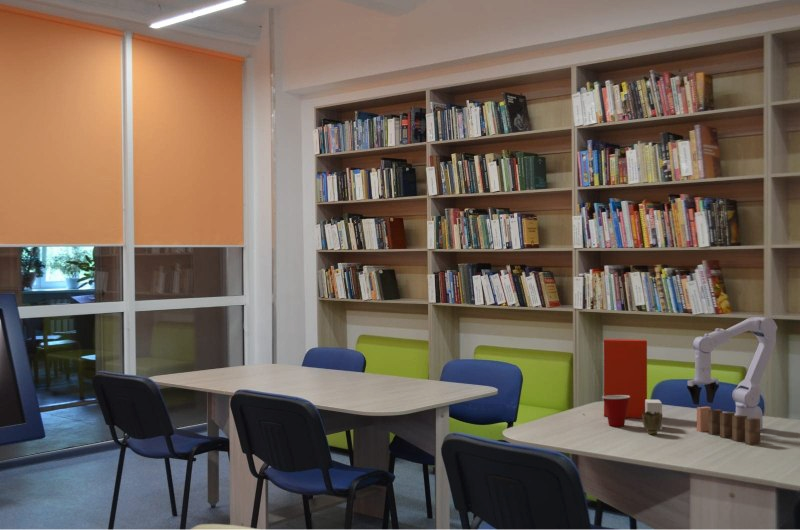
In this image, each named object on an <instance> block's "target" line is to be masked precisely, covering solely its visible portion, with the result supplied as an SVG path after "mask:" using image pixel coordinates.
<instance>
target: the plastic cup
mask: <svg viewBox="0 0 800 530" xmlns="http://www.w3.org/2000/svg"><path fill="white" fill-rule="evenodd" d="M601 398H602V400H603V404H604V403H605V407H606V413H607V417H606V418H607V422H608V425H609V427H613V428H622V427H624V426H625V424H626V423H625V422H626V419H627V417H626V412H627V406H628V401H629V398H630V396H628V395H608V396H604V395H602V397H601Z"/></svg>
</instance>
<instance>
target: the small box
mask: <svg viewBox="0 0 800 530" xmlns="http://www.w3.org/2000/svg"><path fill="white" fill-rule="evenodd" d="M647 411H648V412H651V414H652V413H653V414H654V412H657V413H658V412H659V413H660V414H661V413H662V414H663V403H662V401H661V400H660V399H651V398H649V399H648V398H647V399H645V413H646V412H647ZM658 430H659V431H662V430H663V422H662V423H661V427H660V429H658ZM658 430H657V431H658Z"/></svg>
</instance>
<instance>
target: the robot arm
mask: <svg viewBox="0 0 800 530" xmlns="http://www.w3.org/2000/svg"><path fill="white" fill-rule="evenodd" d="M778 328H779V327H778V326H777V324H776V322H775V320H774V319H773V318H771V317H764V316H763V317H762V316H757V315H754V316H751V317H748V318H746V319H745V320H743V321H740V322H738V323H737V324H734V325H733V326H730V327H728V328H727V329H724V328H718V327H717V328H714V331H712V332H710V333H704V335H703V336H697V337H695V338H694V339H693V343H691V346H692V349H693V350H694V362H695V363H694V377H693V379H690V380H687V385H686V388H687V390H688V392H689V394H690V397H691V400H692V403H693V405H696V406H697V405H700V396H701V392H702V387H701V386H702V385H703V387H704V388H705V395H706V402H707V403H709V404H713V403H714V399H715V395H716V393H717V391H718V389H719V388H720V384H719V378H716V377H712V352H713V350H714V349H715V348H717V347H720V346H721V345H724V344H727V343H729V341H730V339H731V338H733V337H735V336H738V335H740V334H743V333H746V332H749V331H750V332H751V333H752V334H753V335H754V336H755V337H756V339H757V340H758V342H759V343H758V345H757V348H756V349H755V353H754V355H753V358H752V360H751V363H750V365H749V368H748V370H747V372H746V375H745V377H744V379H743V380H741V381H740V382H739V383H738V385H737V387H736V388H734V390H733V391H732V392H731V393H732V399H733V401H734V402H735V416H736V415H746V416H747V419H748V418H759V419H760V431H763V430H765V428H764V427H763V423H764V421H763V416H764V415H763V411H762V409H761V407H760V406H759V403H760V400H761V399H760V398H761V391H762V389H761V388H760V383H761V381H762V379H763V376H764V373H765V371H766V369H767V365H768V363H769V361H770V359H771V356H772V353H773V351H774V350H775V346H776V343H777V330H778Z"/></svg>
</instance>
